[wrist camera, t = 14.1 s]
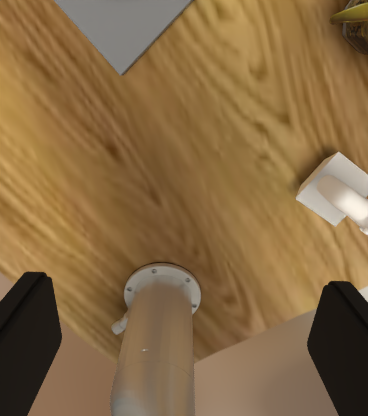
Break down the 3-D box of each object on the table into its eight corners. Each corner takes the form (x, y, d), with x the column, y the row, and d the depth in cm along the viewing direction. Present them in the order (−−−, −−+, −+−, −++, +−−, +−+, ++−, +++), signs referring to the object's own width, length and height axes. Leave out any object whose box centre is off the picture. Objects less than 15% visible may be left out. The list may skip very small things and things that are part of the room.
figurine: (318, 139, 36) (399, 180, 22) (368, 178, 38) (468, 237, 25) (279, 183, 38) (331, 244, 25) (328, 217, 41) (399, 290, 27)
